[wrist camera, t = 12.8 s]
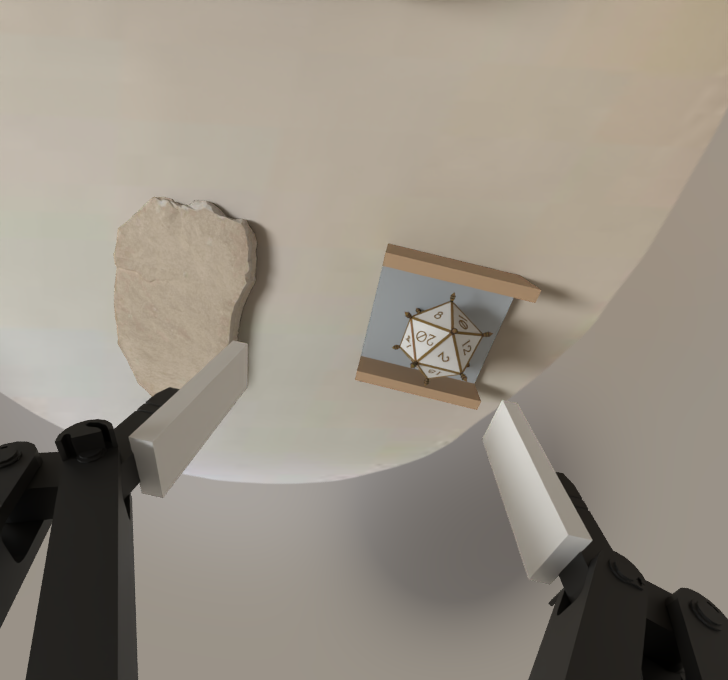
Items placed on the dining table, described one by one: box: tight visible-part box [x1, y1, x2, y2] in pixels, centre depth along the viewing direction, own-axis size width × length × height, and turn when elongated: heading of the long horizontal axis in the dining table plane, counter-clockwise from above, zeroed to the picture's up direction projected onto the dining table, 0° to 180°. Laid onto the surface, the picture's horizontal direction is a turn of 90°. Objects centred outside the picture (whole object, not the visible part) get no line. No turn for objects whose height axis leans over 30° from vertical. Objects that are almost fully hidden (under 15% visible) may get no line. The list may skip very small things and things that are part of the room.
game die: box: [392, 292, 493, 386], centre depth 30 cm, size 9×8×10 cm
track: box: [355, 244, 541, 410], centre depth 32 cm, size 14×14×6 cm
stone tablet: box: [113, 197, 258, 396], centre depth 37 cm, size 16×30×2 cm, turn 159°
